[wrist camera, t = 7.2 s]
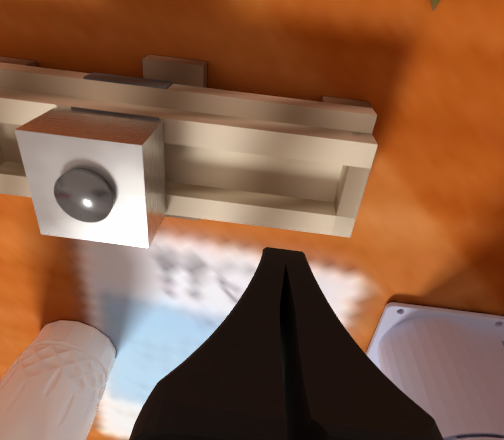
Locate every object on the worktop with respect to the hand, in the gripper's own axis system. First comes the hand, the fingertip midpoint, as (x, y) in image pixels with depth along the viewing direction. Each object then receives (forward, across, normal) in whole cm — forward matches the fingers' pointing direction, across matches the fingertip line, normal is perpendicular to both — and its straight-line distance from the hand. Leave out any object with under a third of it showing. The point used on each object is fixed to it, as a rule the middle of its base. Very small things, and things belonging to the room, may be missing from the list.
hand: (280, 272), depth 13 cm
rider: (+8, +8, 0) cm, 11 cm away
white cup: (+11, +15, +20) cm, 27 cm away
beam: (+10, +6, 0) cm, 12 cm away
